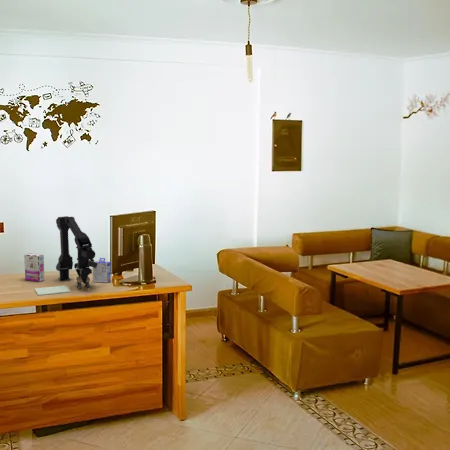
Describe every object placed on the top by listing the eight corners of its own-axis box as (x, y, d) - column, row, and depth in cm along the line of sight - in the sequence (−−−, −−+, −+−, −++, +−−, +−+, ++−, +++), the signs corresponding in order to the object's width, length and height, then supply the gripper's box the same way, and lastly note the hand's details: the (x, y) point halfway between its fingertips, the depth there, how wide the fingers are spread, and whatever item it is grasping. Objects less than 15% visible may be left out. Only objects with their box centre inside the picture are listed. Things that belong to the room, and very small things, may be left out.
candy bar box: (44, 280, 365) (44, 254, 363) (39, 282, 361) (38, 256, 358) (30, 278, 370) (29, 252, 367) (24, 280, 365) (23, 254, 362)
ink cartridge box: (111, 280, 367) (110, 258, 365) (107, 283, 361) (107, 259, 359) (96, 279, 369) (96, 257, 366) (92, 282, 363) (92, 259, 361)
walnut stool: (76, 286, 351) (76, 276, 350) (87, 285, 354) (87, 275, 353) (79, 289, 346) (78, 279, 345) (90, 288, 349) (89, 278, 348)
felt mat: (34, 289, 344) (34, 288, 344) (65, 286, 352) (65, 285, 352) (38, 295, 332) (38, 294, 332) (70, 292, 340) (70, 291, 340)
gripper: (100, 258, 342) (100, 284, 345) (92, 252, 359) (92, 277, 361) (81, 260, 337) (81, 286, 340) (73, 254, 354) (74, 279, 356)
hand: (83, 282), depth 349 cm, fingers closed on walnut stool, 6 cm apart
